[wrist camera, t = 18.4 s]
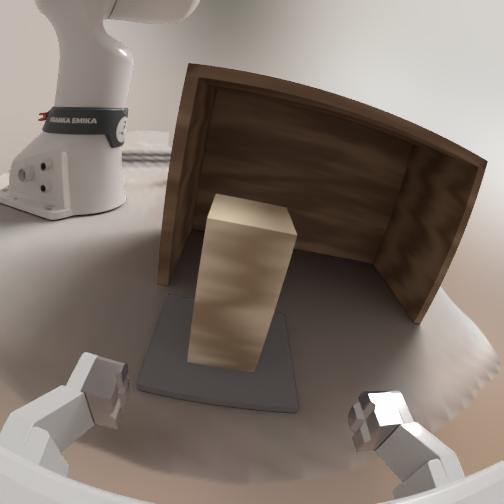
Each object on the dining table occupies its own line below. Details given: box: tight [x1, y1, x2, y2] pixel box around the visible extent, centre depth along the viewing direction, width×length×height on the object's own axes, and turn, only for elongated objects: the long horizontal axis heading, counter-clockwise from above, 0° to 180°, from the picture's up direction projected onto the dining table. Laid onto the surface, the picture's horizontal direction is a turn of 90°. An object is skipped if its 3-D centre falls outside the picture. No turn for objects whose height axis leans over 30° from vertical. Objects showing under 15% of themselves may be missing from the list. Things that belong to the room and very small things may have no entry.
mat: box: [137, 294, 299, 413], centre depth 21 cm, size 10×10×1 cm
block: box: [187, 194, 297, 372], centre depth 19 cm, size 4×4×10 cm
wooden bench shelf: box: [157, 63, 487, 324], centre depth 31 cm, size 15×28×19 cm, turn 91°
